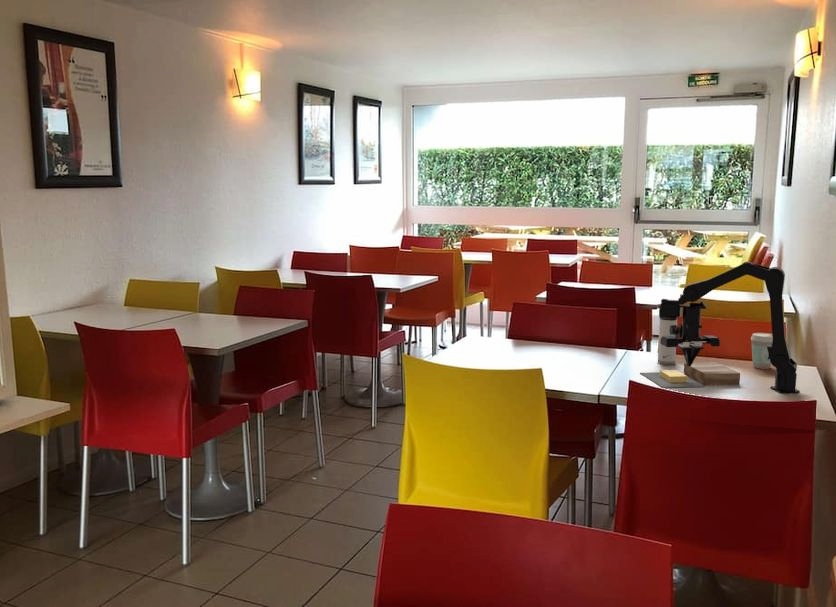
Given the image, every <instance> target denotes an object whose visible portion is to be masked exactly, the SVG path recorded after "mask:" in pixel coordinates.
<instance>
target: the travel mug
mask: <svg viewBox="0 0 836 607" xmlns="http://www.w3.org/2000/svg"><path fill="white" fill-rule="evenodd" d="M671 325H677V326H678V319H677V320H674V319H661V318H659V326H658V328H659V330H658V348H657V363H658V364H661V365H665V366H672V365H674V364H676V356H677V355H676V354H677V352H676V351H677V347H666V346H664V345H662V344H660V340H661V338H662V336H673V337H675V335H670V331H669V330H670V326H671Z"/></svg>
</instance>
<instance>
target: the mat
mask: <svg viewBox="0 0 836 607" xmlns="http://www.w3.org/2000/svg"><path fill="white" fill-rule="evenodd" d="M639 374H640V375H642V376H643V377H645V378H646V379H648V380H649V381H650V382H652V383H654V384H655V385H657V386H659V387H660V388H662V387H663V388H662V389H688V388H691V389H692V388H693V389H695V388H698V389H699V388H705V386H704V385H702V384H701V383H699V382H697V381H695V380H693V379H692V378H690V377H688V381H687V382H668V381H667V380H665V379H664V378H662V377H660V371H656V372H654V371H653V372H651V371H650V372H649V371H648V372H640V373H639Z"/></svg>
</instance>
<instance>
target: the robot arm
mask: <svg viewBox="0 0 836 607" xmlns="http://www.w3.org/2000/svg"><path fill="white" fill-rule="evenodd" d="M745 276H750V277H753V278H755V279H758V280H761V281H764V283H765V286H766V290H767V293H768V296H769V305H770V306H769V308H770V309H769V310H770V320H771V331H772V332H771V334H772V337H773V341H772V344H768V346H767V350H768V354H769V356H768V359H770V362H771V366H773V367H774V368H775V369H776V370H775V376H774V377H775V379H774V385H772V386H770V387H769V388H770V389H772V390H774V391H777V392H778V393H780V394H785V393H786V394H789V393H795V394H796V393H800V392H801V391H800V390H799V389H797V388H796V387H797V369H798V363H797V362H796V361H795V360H794V359H793V358H792V357H791V352H790V348H789V344H788V342H787V339H786V328H785V314H784V300H783V294H784V287H785V286H784V285H785V280H786V279H785V278H786V273H785V271H784V270H783V268H781V267H779V266H772V267H769V266H765V265H761V264H758V263H753V262H751V261H744V262H742V263H741V264H739V265H737V266H735V267H732V268H731V269H728V270H726V271H724V272H721V273H720V274H718V275H715V276H713V277H711V278H708V279H704V280H699V281H696V282H692V283H690V284H688V285H686V286H685V287H684V288H683V291H682V295H681V296H680V297H678V299H667V298H662V299H661V300H660V306H659V309H658V316H659V319H660V318H661V319H674V320H677V321H678V318H681V317H682V319H681V322H680V324H679V326H678V324H677V325H671V326H670V330H669V331H670V335H675V337H673V336H662V338H661V340H660V344H662V345H664V346H666V347H676V348H680V350H681V352H682V354H683V356H684V360H685V363H686V364H687V366H691V365H692V363H694V361H695V359H696V357H698V354H699V353H700V351H701V350H704V348H705V347H704V346H703V344H704V345H705V344H709V345H710V346H711V347H721V339H720V337H719V336H718V337H717V336H716V335H712V334H711V335H709V334H708V335H707V334H706V335H702V336H700V334H701V329H703V328H702V327H703V325H702V324H701V319H702V318H701V317H702V315H701V314H702V310H706V309H707V308H708V305H707V304H706V303H705V301H703V300H701V301H700V302H697V301H698V300H700V299H702V298H703V297H704V296H706V295H708V294H709V293H710V292H712V291H714V290H715V289H717V288H720V287H722V286H724V285H726V284H728V283H731V282H733V281H736V280H737V279H740V278H742V277H745ZM688 302H690V303H689V304H686V303H688Z"/></svg>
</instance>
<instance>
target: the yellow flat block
mask: <svg viewBox="0 0 836 607" xmlns="http://www.w3.org/2000/svg"><path fill="white" fill-rule="evenodd" d="M659 372H660V377H662V378H664V379H665V380H667V381H668V382H687V381H688V376H686V375H685V374H684V372H683V373H682V372H681V371H679V370H677V369H663V370H662V369H660V370H659Z"/></svg>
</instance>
